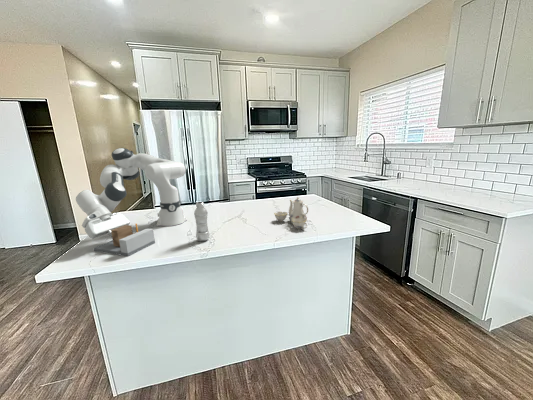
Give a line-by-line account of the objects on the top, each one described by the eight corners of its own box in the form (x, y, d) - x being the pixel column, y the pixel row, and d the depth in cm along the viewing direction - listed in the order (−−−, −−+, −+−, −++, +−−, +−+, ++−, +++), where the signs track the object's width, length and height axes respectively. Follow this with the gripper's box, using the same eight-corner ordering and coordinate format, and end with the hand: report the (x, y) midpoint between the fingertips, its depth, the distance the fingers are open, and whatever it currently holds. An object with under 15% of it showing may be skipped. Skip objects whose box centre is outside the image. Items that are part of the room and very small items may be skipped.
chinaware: (269, 223, 155) (266, 198, 150) (288, 216, 164) (286, 192, 160) (302, 235, 133) (299, 206, 129) (321, 225, 143) (320, 198, 138)
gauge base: (94, 250, 117) (91, 236, 116) (123, 238, 132) (120, 225, 130) (128, 256, 110) (125, 240, 108) (155, 243, 125) (153, 229, 123)
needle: (134, 240, 124) (132, 224, 122) (139, 238, 127) (137, 222, 125) (137, 240, 124) (134, 224, 122) (142, 238, 126) (139, 222, 125)
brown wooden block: (113, 245, 118) (110, 230, 116) (135, 236, 129) (132, 222, 128) (119, 246, 117) (117, 230, 115) (141, 237, 128) (138, 223, 126)
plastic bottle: (197, 238, 129) (194, 201, 125) (210, 237, 130) (207, 200, 125) (195, 243, 123) (191, 204, 119) (208, 242, 123) (205, 203, 119)
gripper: (117, 215, 133) (133, 233, 132) (78, 226, 114) (96, 248, 113) (122, 207, 130) (138, 226, 129) (82, 218, 112) (101, 240, 110)
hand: (118, 237), depth 121 cm, fingers closed, pressing on brown wooden block
